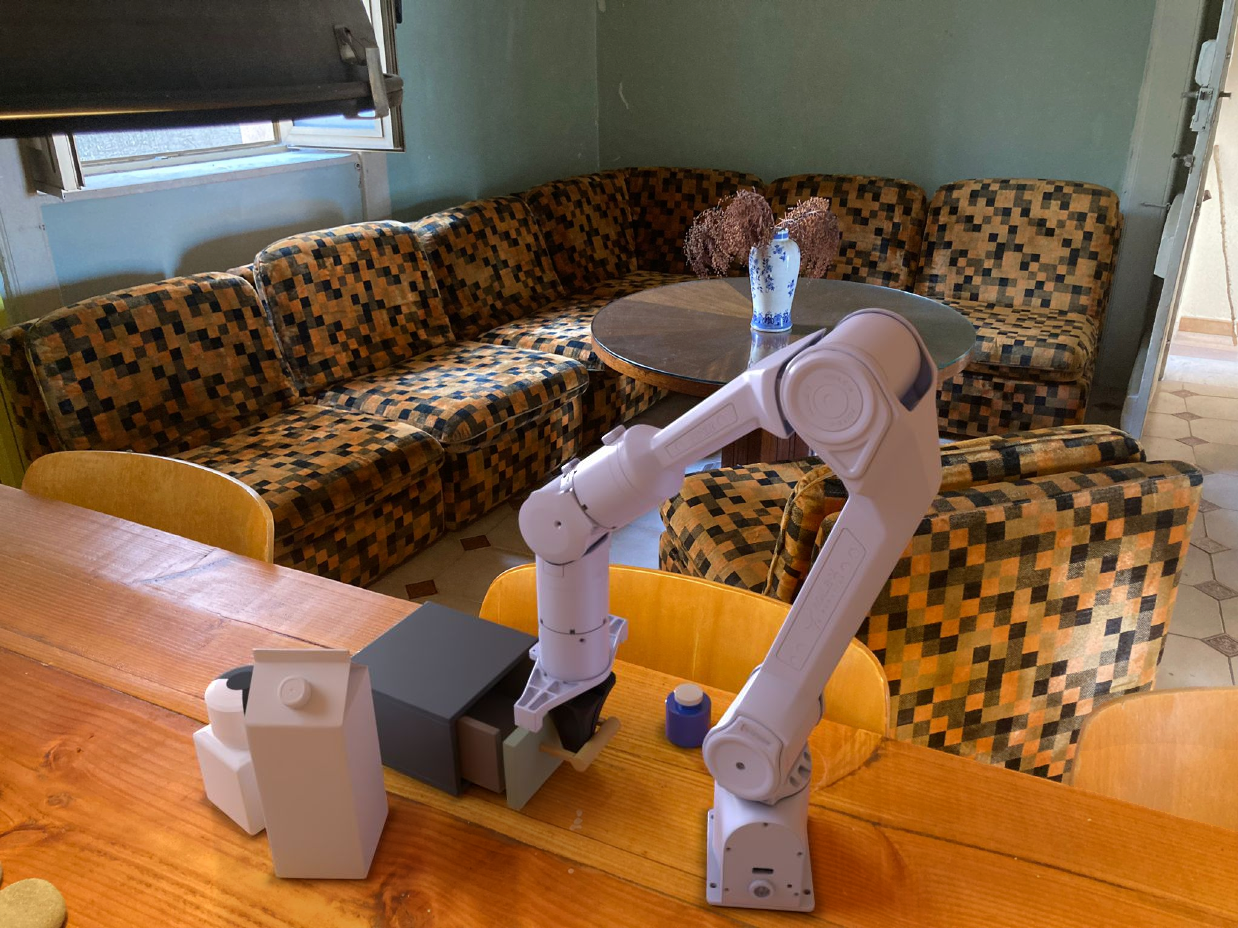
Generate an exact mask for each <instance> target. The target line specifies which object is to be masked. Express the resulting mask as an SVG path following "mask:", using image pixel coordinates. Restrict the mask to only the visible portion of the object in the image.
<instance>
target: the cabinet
mask: <svg viewBox="0 0 1238 928" xmlns="http://www.w3.org/2000/svg"><path fill="white" fill-rule="evenodd" d="M538 642H539V636H537V635H534V634H531V633H528V632H525V631H522V630H519V629H516V628H512V627H509V626H506V625H503V624H500V623H498V622H494V621H491V620H488V619H485V618H482V617H480V616H475V615H474V614H470V613H467V612H464V611H461V610H458V609H454V608H452V607H448V606H445V605H443V604H440V603H436V602H434V601H430V600H426V602H424V603H423V604H421V605H420V606H419V607H417V608H416V609H415V610H413V611H412V612H410V613H409V614H408V615H407V616H405V617H403V618H402V619H401V620H399V621H398V622H397V623H395V624H394V625H393V626H391V627H390V628H389V629H387V630H386V631H385V632H383V633H382V634H380V635H379V636H378V637H376V638H375V639H373V640H372V641H371V642H370V643H368V644H367V645H366V646H364V647H362V648H361V649H360V650H359V651H357V652H356V653H354V654H353V655H352V656H350V658H351V662H355V663H358V664H361V665H365V666H368V670H369V677H370V684H371V691H372V698H373V705H374V712H375V719H376V726H377V733H378V740H379V747H380V754H381V761H382V766H383V767H384V766H385V767H386V768H388V769H391V770H394V771H396V772H398V773H400V774H402V775H405V776H407V777H409V778H412V779H414V780H416V781H419V782H421V783H423V784H425V785H428V786H430V787H431V788H432V787H433V788H434V789H436V790H439V791H441V792H443V793H445V794H448V795H451V796H453V797H455V798H459V797H460V796H461V795H462V794H463V793H464V792H465V791H466V790H467V789H468V788H469V787H470V786H471V785H472V784H473V782H471V781H468V780H466V779H464V778H461V776H460V766H459V757H458V747H457V737H456V727H455V721H456V720H457V719H458V718H459V717H460V716H461V715H462V714H463V713H464V712H466V711H467V710H468V709H469V708H470V707H471V706H472V705H473V704H474V703H475V702H476V701H478V700H479V699H480V698H481V697H482V696H483V695H484V694H485V693H486V692H487V691H489V690H490V689H491V688H492V687H493V686H494V685H495V684H496V683H497V682H498V681H499V680H501V679H502V678H503V677H504V676H505V675H506V674H507V673H508V672H509V671H510V670H512V669H513V668H514V667H515V666H516V665H517V664H518V663H519V662H520V661H521V660H522V659H524V658H525V657H526V656H527V655H528V654H529V653H530V652H529V651H530V649H531V648H532V647H533V646H535V645H536V644H537V643H538Z"/></svg>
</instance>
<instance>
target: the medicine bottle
mask: <svg viewBox="0 0 1238 928" xmlns="http://www.w3.org/2000/svg"><path fill="white" fill-rule="evenodd" d="M253 668H254V664H246V665H241V666H237V667H234V668H232V669H229V670H227V671H224V672H223V673H221V674H220V675H218V676H216V678H214V679H213V680H212V682H210V684H209V685H208V686H207V688H206V690H205V693H204V696H203V697H204V703H205V707H206V711H207V716H208V719H209V724H208V725H205V726H204V727H202V728H200V729H199V730H197V731H195V732H193V734H192V740H193V744H194V749H195V752H196V758H197V761H198V766H199V769H200V773H201V777H202V781H203V786H204V789H205V794H206V797H207V799H208V800H209V801H210V802H211V803H212V804H213V805H215V806H216V807H217V808H218V809H219V810H220V811H222V812H223V813H224V814H225V815H226V816H227V817H228V818H230V819H231V820H232V821H233V822H234V823H236V824H237V825H238V826H239V827H240V828H241V829H243V830H244V831H245V832H246V833H247V834H248V835H249V836H255V835H257V834H258V833H260V832H261V831H262V830H265V829H266V826H265V821H264V816H263V812H262V807H261V802H260V798H259V793H258V788H257V783H256V779H255V774H254V769H253V765H252V760H251V755H250V751H249V746H248V741H247V736H246V731H245V726H244V719H245V713H246V708H247V702H248V696H249V691H250V685H251V679H252V674H253Z"/></svg>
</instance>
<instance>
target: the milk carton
mask: <svg viewBox="0 0 1238 928" xmlns="http://www.w3.org/2000/svg"><path fill="white" fill-rule="evenodd" d="M252 654H253V655H252V656H253V661H254V663H253V665H254V668H253V674H252V679H251V685H250V691H249V696H248V702H247V708H246V713H245V719H244V726H245V731H246V736H247V741H248V746H249V751H250V755H251V760H252V765H253V769H254V774H255V779H256V783H257V788H258V793H259V798H260V802H261V807H262V812H263V816H264V821H265V826H266V828H265V830H266V835H267V840H268V844H269V849H270V854H271V857H272V862H273V868H274V873H275V876H276V877H277V878H279V879H281V878H283V879H336V880H337V879H338V880H348V879H349V880H366V879H367V877H368V874H369V871H370V869H371V865H372V862H373V859H374V856H375V853H376V850H377V847H378V844H379V841H380V838H381V835H382V832H383V829H384V826H385V823H386V820H387V817H388V814H389V804H388V798H387V797H388V796H387V790H386V784H385V776H384V769H383V765H382V761H381V754H380V747H379V740H378V733H377V726H376V719H375V712H374V705H373V698H372V691H371V684H370V677H369V670H368V666H365V665H361V664H358V663H355V662H351V658H350V657H351V651H350V649H349V648H285V647H284V648H282V647H281V648H277V647H276V648H272V647H271V648H268V647H265V648H263V647H253V648H252Z"/></svg>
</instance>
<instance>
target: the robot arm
mask: <svg viewBox="0 0 1238 928" xmlns="http://www.w3.org/2000/svg"><path fill="white" fill-rule="evenodd" d="M826 332H827V327H824V328H822V329H819V330H817V331H815V332H812V333H810V334H808V335H806V336H804V337H803V338H800V339H798V340H797V341H795V342H793V343H791V344H789V345H787V346H785V347H783V348H781V349H779V350H776V351H775V352H773V353H771V354H769V355H768V356H766V357H764V358H763V359H761V360H759V361H758V362H756V363H755V364H754V365H752V366H750V367H749V368H748V369H746V370H745V371H744V372H742V373H741V374H740V375H738V376H737V377H735V378H734V379H732V380H731V381H729V382H728V383H727V384H725V385H724V386H722V387H720V389H717V391H715V392H713V393H712V394H711V395H710V396H708V397H707V398H705V399H703V400H702V401H701V402H699V403H698V404H697V405H695V406H694V407H693V408H691V409H689V410H688V411H687V412H685V413H684V414H682V415H681V416H679V417H678V418H677V419H675V420H674V421H672V422H671V423H669V424H668V425H667V426H665V427H664V428H659V427H656V426H653V425H649V424H635V425H633V426H631V427H629V428H628V429H626V427H625V426H624V425H623V424H620V425H618V426H617V427H615V428H614V429H612V430H611V431H609V432H608V433H606V434H605V435H604V436H602V438H601V441H602V443H603V444H604V445H603V446H601V447H600V448H598V449H597V450H596V451H594V452H593V453H591V454H589V456H587V457H586V458H584V459H582V460H581V459H579V458H578V457H575V458H573V459H572V460H570V461H568V462H567V463H566V464H565V465H563V466H562V467H561V473H562V474H560V475H559V476H558V477H556V478H554V479H553V480H552V481H550V482H549V483H547V484H546V485H544V486H543V487H541V488H540V489H537V490H534V491H532V492H531V493H530V495H529V496H528V498H527V499H526V500H525V501H524V502H523V504H521V507H520V510H519V513H518V525H519V527H518V528H519V530H520V533H521V537H522V539H523V540H524V542H525V543H526V545H527V547H528V548H529V549H530V550H531V551H532V552H533V553H534V554H535V575H536V578H535V579H536V596H537V597H536V601H537V621H538V622H537V623H538V637H539V642H538V643H537V644H536V645H535V646H533V647H532V648H531V649H530V651H529V652H530V658H531V659H532V660H535V661H536V664H535V666H534V669H533V671H532V674H531V676H530V679H529V681H528V683H527V686H526V688H525V691H524V693H523V695H522V696H521V698H520V699H519V700H518V702H517V703H516V704H515V705H514V715H515V725H517V726H519V727H522V728H524V729H526V730H529V731H532V732H535V733H536V732H538V730H539V729H540V728H541V727H542V717H543V715H544V714H545V713H546V712H548V713H549V715H550V716H551V718H552V720H553V722H554V725H555V727H556V729H557V732H558V735H559V738H560V741H561V743H562V746H563V749H565V750H568V751H570V752H573V753H575V754H577V753H578V752H579V750H580V749H581V748H582V747H583V746H584V745H585V744H586V743H587V741H588V740H589V739H590V738H591V737H592V736H593V735H594V733H595V732H596V731H597V727H598V726H597V723H598V719H599V717H601V716H600V715H601V713H602V710H603V708H604V705H605V702H606V700H607V698H608V696H609V694H610V693H611V691H612V690H613V688H614V686H615V685H616V683H617V674H616V673H615V672H614V671H612V670H613V666H614V664H615V663H614V662H615V659H616V656H617V651H618V648H619V645H620V644H623V643H625V641H627V639H628V638H629V620H628V619H627V618H623V617H621V616H617V615H615V614H611V613H610V548H611V546H612V544H611V543H612V541H611V540H612V539H611V538H612V534H613V532H615V531H617V530H620V529H622V528H623V527H625V526H626V525H628V524H629V523H631V522H633V521H635V520H637V519H638V518H640V517H641V516H644V515H645V514H647V513H648V512H650V511H651V510H654V509H655V508H656V507H658V506H660V505H662V504H663V503H665V502H667V501H668V500H670V499H672V498H674V497H676V496H677V495H678V494H679V493H680V492H681V490H682V488H683V485H684V483H685V477H686V469H687V468H688V467H690V466H692V465H694V464H695V463H696V462H699V461H701V460H703V459H704V458H706V457H707V456H710V455H711V454H713V453H715V452H717V451H719V450H720V449H722V448H724V447H726V446H727V445H729V444H731V443H734V442H735V441H736V440H739V439H741V438H742V437H743V436H745V435H747V434H749V433H751V432H752V431H754V430H756V429H759V428H762V429H763V430H765V431H766V432H768V433H770V434H772V435H774V436H776V437H778V438H780V439H786V440H787V439H789V438H790V437H791V436H792V435H793V434H794V433H796V434H797V435H798V436H799V437H800V438H801V440H803V442H804V443H805V444H806V445H807V446H808V447H809V448H810V449H811V450H812V451H813V453H815V454H816V455H817V457H819V459H820V460H821V461H822V462H824V464H825V465H826V466H827V467H828V468H829V470H831V471H832V472H833V474H835V475H836V477H838V478H839V480H841V481H842V483H843V486H844V487H845V489H846V491H847V493H848V498H847V501H846V503H845V505H844V506H843V509H842V510H841V512H840V514H839V516H838V518H837V520H836V522H835V524H834V525H833V527H832V529H831V531H830V533H829V534H828V536H827V539H826V541H825V543H824V545H823V546H822V548H821V551H820V552H819V554H818V556H817V558H816V560H815V562H814V563H813V566H812V567H811V570H810V571H809V573H808V575H807V577H806V580H805V581H804V583H803V585H802V587H801V589H800V591H799V593H798V595H797V597H796V598H795V600H794V602H793V604H792V606H791V608H790V610H789V612H788V613H787V616H786V617H785V620H784V621H783V624H782V625H781V627H780V629H779V631H778V633H777V635H776V637H775V639H774V641H773V643H772V645H771V646H770V648H769V650H768V652H767V654H766V656H765V658H764V660H763V662H762V663H760V664H759V665H757V666H755V668H753V670H752V671H751V673H750V675H749V676H748V678H747V681H746V683H745V685H744V686H743V687H742V688H741V690H740V692H739V693H738V695H737V696H736V697H735V699H734V700H733V701H732V703H731V704H730V705H729V707H728V708H727V709H726V711H725V713H724V714H723V715H722V717H721V718H720V719H719V721H718V722H717V724H716V725H715V726H713V727H711V730H710V731H709V732H708V734H707V735H706V737H705V739H704V742H703V745H702V749H701V750H702V758H703V761H704V764H705V766H706V768H707V771H708V772H709V773H710V775H711V777H712V778H713V779H714V793H713V794H714V795H713V808H710V809H709V810H708V812H707V842H706V843H707V847H706V849H707V851H706V852H707V853H706V902H707V904H709V905H711V906H717V907H718V906H720V907H733V908H748V909H763V910H766V909H767V910H776V911H777V910H778V911H792V912H805V913H811V912H813V911H815V910H814V909H815V907H816V906H815V905H816V902H815V894H814V893H815V891H814V884H813V873H812V866H811V855H810V846H809V836H808V819H809V817H808V816H809V806H810V795H811V784H812V774H813V773H812V771H813V762H812V753H811V750H810V745H809V738H810V736H811V734H812V733H813V731H814V729H815V728H816V727H817V726H818V725H820V722H821V721H822V719H823V717H824V715H825V711H826V698H825V693H826V692H825V691H826V687H827V685H828V683H829V681H830V679H831V678H832V675H834V672H835V671H836V669H837V667H838V665H839V664H840V662H841V660H842V659H843V656H844V655H845V653H846V651H847V650H848V648H849V647H850V645H851V643H852V641H853V639H854V638H855V636H856V634H857V633H858V631H859V629H860V628H861V626H862V624H863V622H864V621H865V619H866V617H867V615H868V614H869V612H870V610H871V608H872V607H873V605H874V603H876V602H875V601H877V598H878V596H879V595H880V593H881V592H882V590H883V588H884V586H885V585H886V583H887V581H888V580H889V578H890V576H891V574H892V572H894V569H895V567H896V565H897V564H898V562H899V560H900V559H901V557H902V555H903V554H904V552H905V550H906V548H907V547H908V545H909V543H910V542H911V540H912V538H913V537H914V535H915V533H916V531H917V529H918V528H919V526H920V524H921V523H922V521H923V519H924V518H925V516H926V515H927V513H928V510H929V509H930V507H931V506H932V504H933V502H934V501H935V499H936V497H937V495H938V494H939V492H940V488H941V486H942V482H943V466H942V456H941V446H940V436H939V434H940V433H939V424H938V423H939V422H938V413H937V401H936V400H937V388H938V387H937V385H938V375H939V370H938V367H937V365H936V363H935V361H934V359H933V358H932V356H931V354H930V352H929V350H928V348H927V346H926V344H925V342H924V341H923V339H922V337H921V335H920V334H919V332H918V331H917V329H916V328H915V326H914V325H913V324H912V323H911V322H910V321H908V319H907V318H905V317H904V316H902V315H901V314H899V313H897V312H895V311H892V310H889V309H885V308H879V307H869V308H868V307H867V308H862V309H858V310H856V311H853V312H852V313H849V314H848V315H846V316H845V317H844V318H842V319H841V320H840V321H839V322H837V324H836V325H835V327H834V328H833V329H832V331H831V332H829V333H828V334H827V335H825V336H824V334H825V333H826Z"/></svg>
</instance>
